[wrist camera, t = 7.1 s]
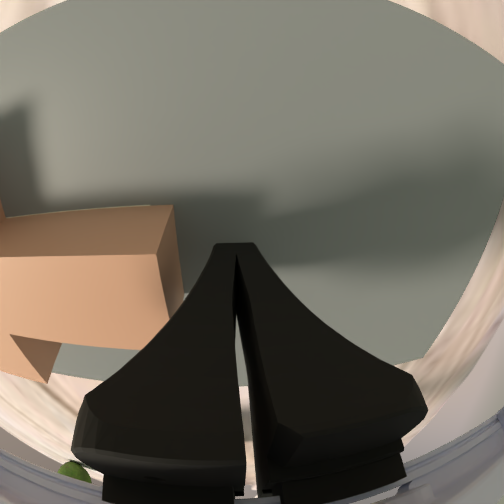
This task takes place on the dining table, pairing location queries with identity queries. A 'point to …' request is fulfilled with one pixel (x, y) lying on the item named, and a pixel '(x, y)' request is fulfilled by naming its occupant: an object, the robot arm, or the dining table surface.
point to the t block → (84, 282)
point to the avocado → (75, 471)
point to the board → (268, 148)
